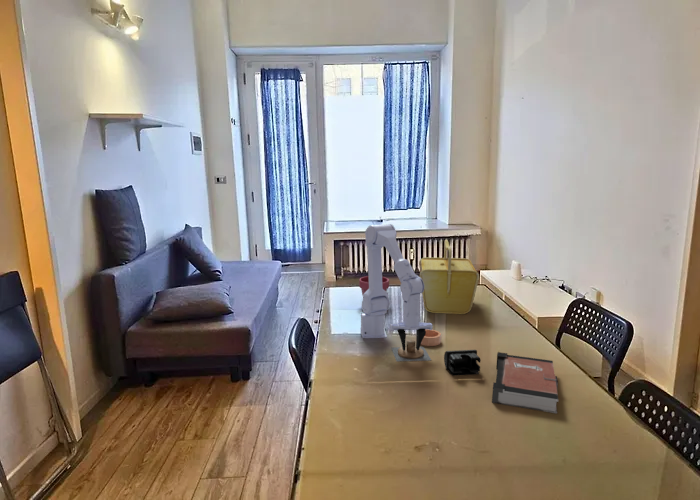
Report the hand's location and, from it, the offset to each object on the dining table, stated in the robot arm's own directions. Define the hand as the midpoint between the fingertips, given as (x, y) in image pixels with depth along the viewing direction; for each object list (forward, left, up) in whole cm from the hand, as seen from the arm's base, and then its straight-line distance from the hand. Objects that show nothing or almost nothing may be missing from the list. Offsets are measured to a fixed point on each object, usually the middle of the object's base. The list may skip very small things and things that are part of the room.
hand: (410, 349), depth 160 cm
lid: (0, 0, -2) cm, 2 cm away
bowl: (+9, +11, -2) cm, 14 cm away
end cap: (+14, -14, -2) cm, 20 cm away
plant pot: (-6, +59, -2) cm, 59 cm away
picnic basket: (+28, +56, -2) cm, 63 cm away
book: (+30, -26, -3) cm, 39 cm away
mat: (0, 0, -2) cm, 2 cm away
